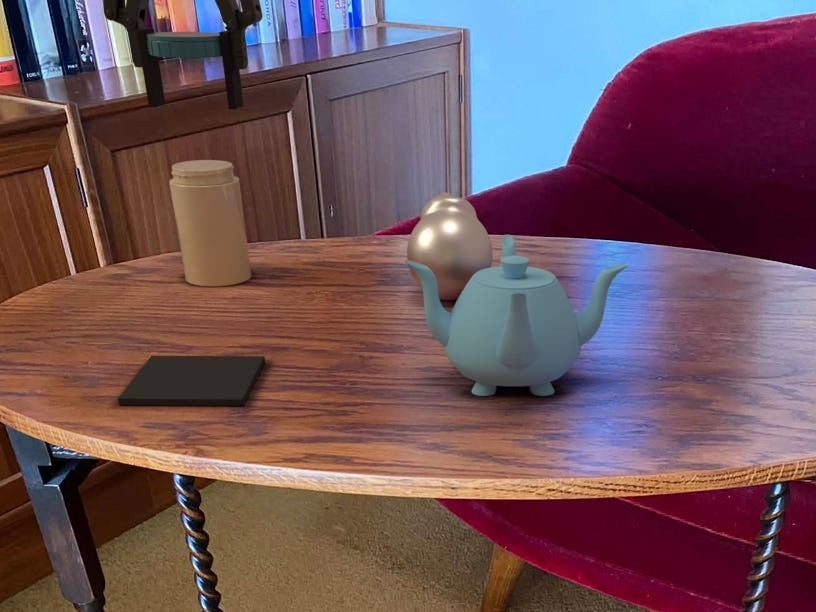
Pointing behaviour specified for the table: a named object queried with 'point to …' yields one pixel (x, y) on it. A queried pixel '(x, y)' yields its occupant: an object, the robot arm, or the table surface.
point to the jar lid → (184, 44)
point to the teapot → (513, 323)
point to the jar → (210, 223)
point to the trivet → (194, 381)
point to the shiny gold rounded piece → (449, 244)
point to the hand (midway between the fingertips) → (196, 106)
